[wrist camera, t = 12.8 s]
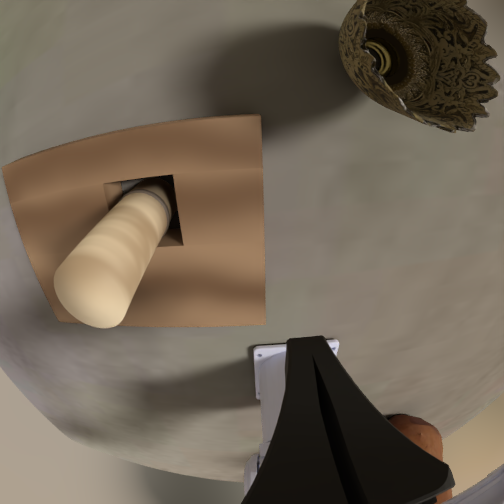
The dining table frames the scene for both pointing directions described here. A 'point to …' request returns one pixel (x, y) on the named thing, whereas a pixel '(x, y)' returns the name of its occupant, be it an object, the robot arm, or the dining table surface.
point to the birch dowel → (115, 255)
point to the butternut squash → (422, 440)
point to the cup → (421, 59)
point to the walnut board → (175, 240)
